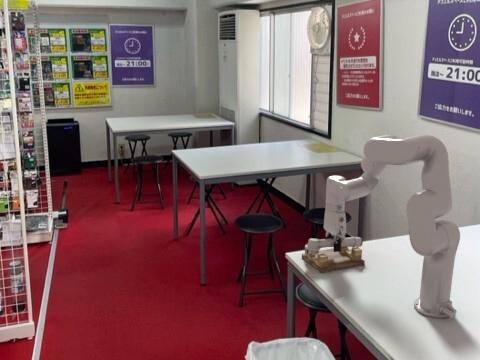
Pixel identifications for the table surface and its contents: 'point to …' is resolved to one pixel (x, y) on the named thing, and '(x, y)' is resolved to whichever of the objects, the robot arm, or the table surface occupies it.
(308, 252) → the electric toothbrush handle
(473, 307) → the table surface
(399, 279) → the table surface
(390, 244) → the table surface
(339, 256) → the rack
